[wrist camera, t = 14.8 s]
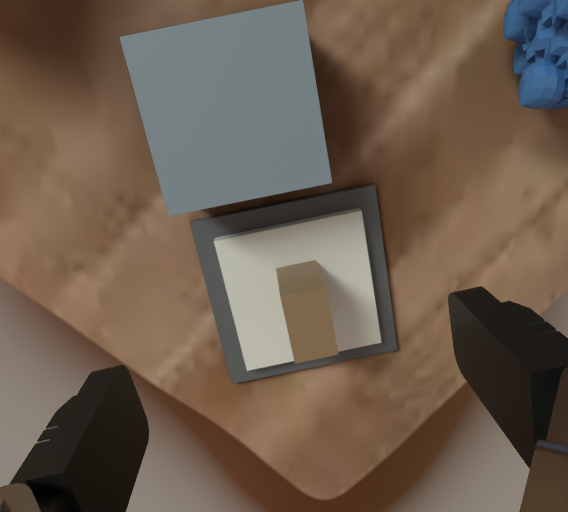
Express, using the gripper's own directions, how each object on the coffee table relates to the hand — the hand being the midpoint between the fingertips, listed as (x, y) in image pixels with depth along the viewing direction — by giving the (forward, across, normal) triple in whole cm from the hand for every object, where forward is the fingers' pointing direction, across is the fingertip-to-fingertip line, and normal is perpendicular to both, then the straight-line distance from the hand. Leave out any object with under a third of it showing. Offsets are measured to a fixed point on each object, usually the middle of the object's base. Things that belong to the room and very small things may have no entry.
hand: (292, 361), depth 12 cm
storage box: (+25, +1, -5) cm, 26 cm away
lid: (+24, 0, +9) cm, 26 cm away
